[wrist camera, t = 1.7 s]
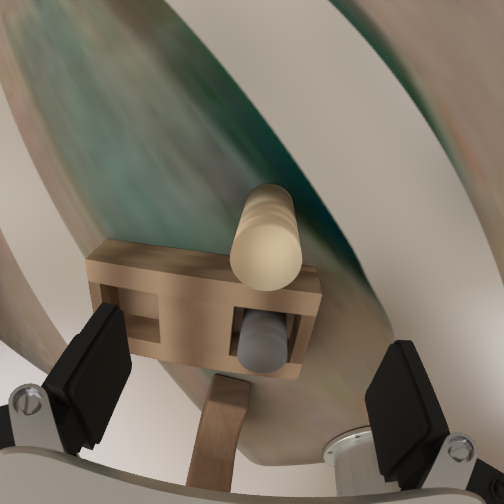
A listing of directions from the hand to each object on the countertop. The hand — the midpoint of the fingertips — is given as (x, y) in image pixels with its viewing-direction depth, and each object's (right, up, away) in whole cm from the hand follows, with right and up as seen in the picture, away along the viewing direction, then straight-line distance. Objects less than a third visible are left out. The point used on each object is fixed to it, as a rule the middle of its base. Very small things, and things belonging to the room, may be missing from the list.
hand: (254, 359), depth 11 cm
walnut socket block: (-5, -1, +21) cm, 21 cm away
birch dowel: (+1, +7, +16) cm, 18 cm away
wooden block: (-4, -15, +27) cm, 31 cm away
